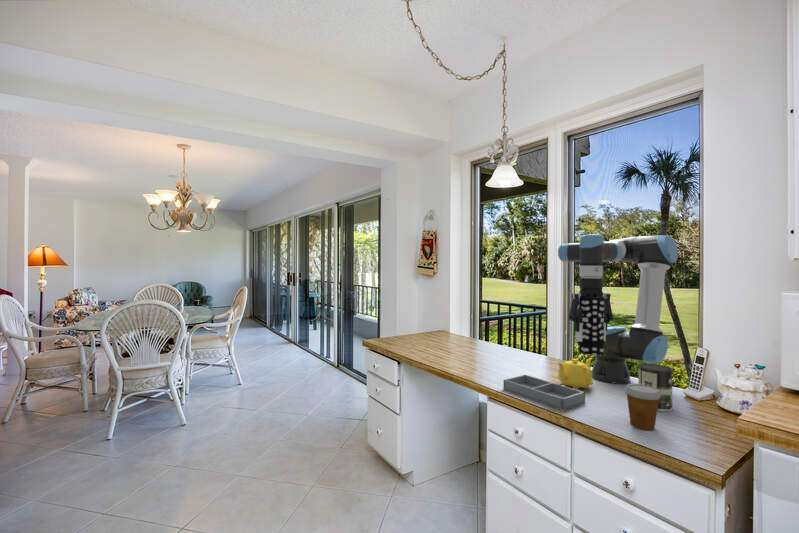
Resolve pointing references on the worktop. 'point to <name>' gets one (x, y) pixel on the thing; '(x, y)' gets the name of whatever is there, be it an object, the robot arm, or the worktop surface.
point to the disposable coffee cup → (642, 405)
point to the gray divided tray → (545, 392)
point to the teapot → (575, 373)
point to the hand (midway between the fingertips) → (590, 340)
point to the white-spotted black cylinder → (592, 326)
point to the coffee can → (658, 382)
